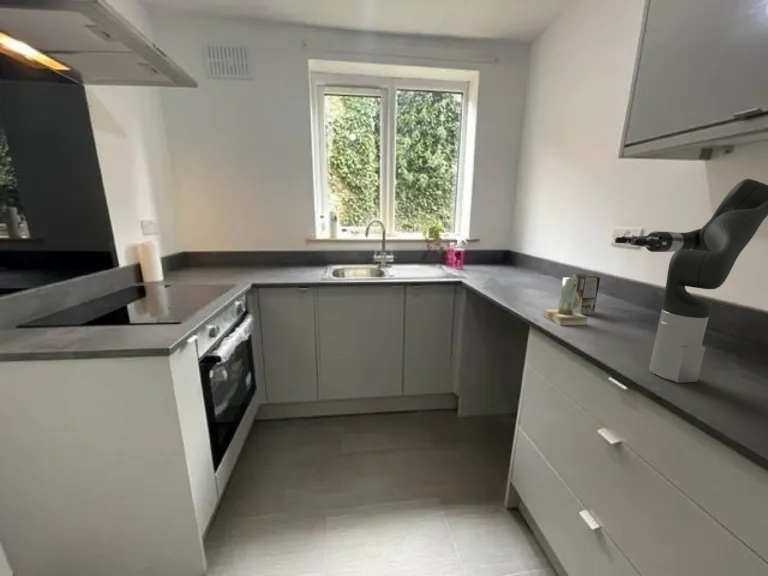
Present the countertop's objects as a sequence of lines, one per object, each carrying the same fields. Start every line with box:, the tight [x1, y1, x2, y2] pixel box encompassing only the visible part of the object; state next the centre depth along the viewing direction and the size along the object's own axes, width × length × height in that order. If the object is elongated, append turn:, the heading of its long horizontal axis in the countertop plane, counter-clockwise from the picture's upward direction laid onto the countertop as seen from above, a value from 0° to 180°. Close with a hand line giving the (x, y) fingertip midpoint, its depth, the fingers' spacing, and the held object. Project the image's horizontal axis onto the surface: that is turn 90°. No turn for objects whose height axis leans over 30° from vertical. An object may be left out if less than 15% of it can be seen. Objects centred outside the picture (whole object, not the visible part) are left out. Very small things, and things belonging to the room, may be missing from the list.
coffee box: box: [572, 273, 601, 316], centre depth 149 cm, size 9×6×16 cm
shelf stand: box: [542, 308, 589, 326], centre depth 137 cm, size 11×11×3 cm
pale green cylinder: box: [557, 276, 578, 315], centre depth 135 cm, size 5×5×14 cm
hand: (625, 241), depth 127 cm, fingers open, 8 cm apart
